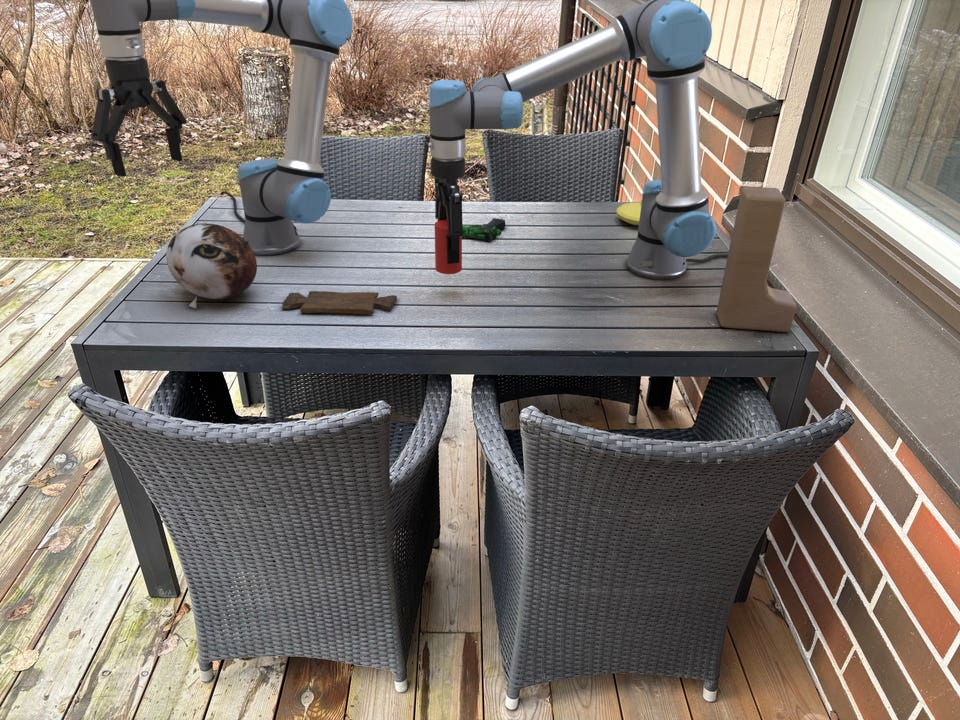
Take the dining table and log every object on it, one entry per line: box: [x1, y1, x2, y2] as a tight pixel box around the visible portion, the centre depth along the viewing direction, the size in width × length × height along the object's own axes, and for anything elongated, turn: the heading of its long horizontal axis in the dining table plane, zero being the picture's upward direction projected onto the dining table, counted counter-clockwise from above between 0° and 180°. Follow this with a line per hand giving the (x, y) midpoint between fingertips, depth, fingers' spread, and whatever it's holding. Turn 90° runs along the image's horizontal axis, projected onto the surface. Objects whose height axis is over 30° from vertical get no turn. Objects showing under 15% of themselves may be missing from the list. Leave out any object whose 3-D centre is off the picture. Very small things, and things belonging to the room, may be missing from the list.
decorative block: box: [716, 185, 797, 333], centre depth 153 cm, size 8×15×30 cm, turn 82°
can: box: [433, 219, 463, 275], centre depth 165 cm, size 6×6×11 cm
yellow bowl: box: [616, 198, 642, 227], centre depth 215 cm, size 16×16×7 cm
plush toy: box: [165, 222, 258, 309], centre depth 165 cm, size 22×18×20 cm
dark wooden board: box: [281, 290, 398, 315], centre depth 165 cm, size 26×2×10 cm
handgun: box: [462, 217, 506, 242], centre depth 207 cm, size 16×3×15 cm
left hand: (149, 167), depth 149 cm, fingers open, 13 cm apart
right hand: (448, 256), depth 166 cm, fingers closed on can, 6 cm apart
